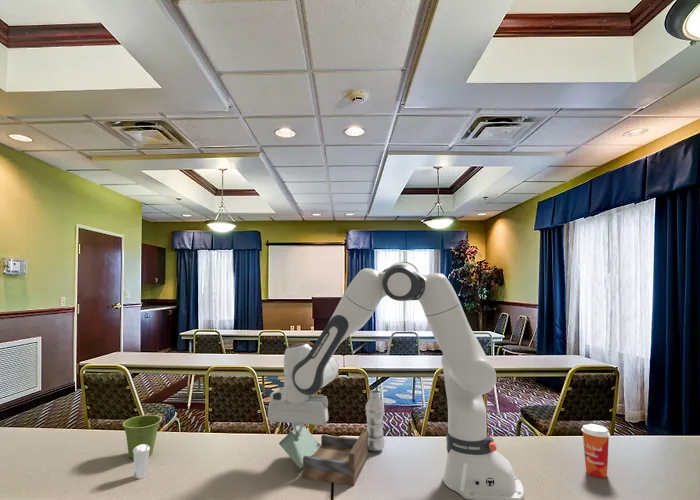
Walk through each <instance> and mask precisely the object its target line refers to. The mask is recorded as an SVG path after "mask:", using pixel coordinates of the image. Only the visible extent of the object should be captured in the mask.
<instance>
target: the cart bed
mask: <svg viewBox="0 0 700 500" xmlns="http://www.w3.org/2000/svg"><path fill="white" fill-rule="evenodd" d="M320 438H321V439H320V440H321V441H320V442H321V443H320V446H319V447H318V448H317V450H316V451H315V452H314V453H313V455H312V456H311V457H310V456H304V457H303V467H302V479H306V480H307V479H309V480H315V481H322V482H328V483H332V484H333V483H335V484H340V485H346V486H348V485H349V486H352V487H353V486H355V485H356V482H357V481H358V479H359V476H360V475H361V473H362V471H363V468H364V467H365V465H366V463H367V461H368V456H369V455H368V454H369V451H368V431H367V430H362V432H361V434H360V435H359V436H358V438H355V437H346V436H339V435H338V436H337V435H331V434H330V435H329V434H322V435H321V437H320Z"/></svg>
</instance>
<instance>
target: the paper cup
mask: <svg viewBox="0 0 700 500" xmlns="http://www.w3.org/2000/svg"><path fill="white" fill-rule="evenodd" d="M581 431H582V441H583V452H584V454H583V455H584V462H585V465H584V466H585V472H586V473H587V474H588V475H589V476H592V477H594V478H598V479H604V478H607V477H608V466H609V465H608V464H609V463H608V461H609V460H608V459H609V440H610V439H609V438H610V436H611V433H610V432H609V429H608V428H607V427H605V426H602V425H599V424H594V423H588V424H583V425H582V428H581Z"/></svg>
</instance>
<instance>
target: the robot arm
mask: <svg viewBox="0 0 700 500" xmlns="http://www.w3.org/2000/svg"><path fill="white" fill-rule="evenodd" d="M386 296H387V297H388V298H390V299H392V300H394V301H397V302H406V301H418V302H419V304H420V306H421V307H422V310H423V312H424V315H425V317H426V320H427V322H428V325H429V328H430V329H431V332H432V335H433V337H434V340H435V341H436V343H437V345H438V347H439V349H440V350H441V352H442V356H441V365H442V371H443V378H444V379H443V380H444V386H445V394H446V400H447V423H448V424H447V426H448V427H447V429H448V430H447V431H446V435H445V438H446V440H445V441H446V442H445V444H446V445H445V446H446V447H445V448H446V452H447V455H446V463H445V469H444V473H443V476H442V481H443V483H444V485H445V486H447V487H448V489H451V490H453V491H454V492H455V493H458V494H459V495H460V496H462V498H464V499H465V500H523V499H524V497H525V490H524V486H523V483H522V482H521V480H520V479H519V477H517V476H515V472H514V468H513V467H512V464H511V463H510V461H509V460H508V459H507V458H506V457H504V456H503V455H502V454H501V453H499V452H498V451H497V450H498V449H497V444H496V443H495V442H494V441H495V439H493V436H492V435H491V434H490V435H488V434H487V408H486V404H485V401H484V398H483V395H486V394H488V393H489V392H491V391H492V390H493V389H494V387H495V385H496V383H497V372H496V369H495V368H494V366H493V365H492V363H491V362H490V360H489V358H488V357H487V354H486V352H485V351H484V348H483V347H482V345H481V343H480V342H479V340H478V338H477V337H476V335H475V333H474V331H473V330H472V328H471V325H470V323H469V321H468V318H467V316H466V313H465V312H464V309H463V307H462V304H461V301H460V299H459V297H458V295H457V293H456V290H455V289H454V287H453V285H452V284H451V282H450V280H449V279H448V278H447V276H446V275H444V273H440V272H432V273H428V274H421V273H420V272H419V269H418V268H417V267H416V266H415V265H414V264H413V263H411V262H409V261H400V262H398V261H397V262H395V263H393V264H392V265H390V266H389V267H387V268H385V269H384V270H382V271H379V270H376V269H374V268H367V267H365V268H363V269H361V270H359V271H358V273H357V274H356V275H355V276H354V277H353V278H352V280H351V282H349V285H348V286H347V287H346V289H345V291H344V293H343V294H342V296H341V298H340V300H339V303H338V304H337V306H336V308H335V310H334V312H333V313H332V315H331V317H330V318H329V320H328V323H327V324H326V326H325V327H324V329H323V330H322V332H321V333H320V335H319V337H318V338H317V339H316V341H315V343H314V345H313V346H310V344H308V343H307V342H300V343H295V344H292V345H291V344H290V345H289V346H287V348H286V349H285V350H284V356H283V357H284V358H283V374H284V383H283V387H279V388H277V389H275V390H273V391H272V392H271V393H270V395H269V399H270V401H269V403H268V407H267V408H268V409H267V419H268V420H269V421H270V422H276V423H277V422H278V423H288V424H289V423H290V424H291V428H292V430H293V429H294V431H295V436H296V437H301V436H302V429H303V427H304V426H305V425H317V426H318V425H319V426H324V425H325V424H327V422H328V421H329V411H328V406H329V401H328V400H329V399H328V398H327V396H325V395H324V394H323V393H322V394H321V393H320V394H318V393H317V392H319V390H320V389H322V388H324V387H326V386H327V385H328V384H330V383H331V382H332V381H334V380H335V379H336V378H337V376H338V374H339V363H338V362H337V360H336V358H335V357H334V354H335V352H336V350H337V349H338V347H339V346H340V345H341V344H342V343H343V342H344V341H345V340H346V339H347V338H348V337H350V336H351V335H353V334H354V333H355V332H357V331H359V330H360V329H362V328H364V326H365V325H366V324H367V322H368V321H369V320H370V319H371V317H372V315H374V313H375V311H376V309H377V307H378V305H379V303H380V302H381V301H382V299H383V298H385V297H386ZM316 393H317V394H316ZM298 424H299V426H300V428H298V426H297V425H298Z"/></svg>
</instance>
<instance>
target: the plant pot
mask: <svg viewBox="0 0 700 500" xmlns="http://www.w3.org/2000/svg"><path fill="white" fill-rule="evenodd" d="M162 420H163V418H162V417H161V416H159V415H155V414H154V415H153V414H146V415H144V414H143V415H139V416H134V417H133V416H132V417H130V418H128V419H125V421H123V422H122V427H124V433H125V435H126V443H127V452H128V457H129V458H131V459H132V460H134V458H133V449H134V448H135V447H136V446H138V445H141V444H145V445H148V446H149V447H150V451H149V457H151V456H152V454H153V452H154V448H155V443H156V439H157V434H158V430H159V427H160V423H161V422H162Z"/></svg>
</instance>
